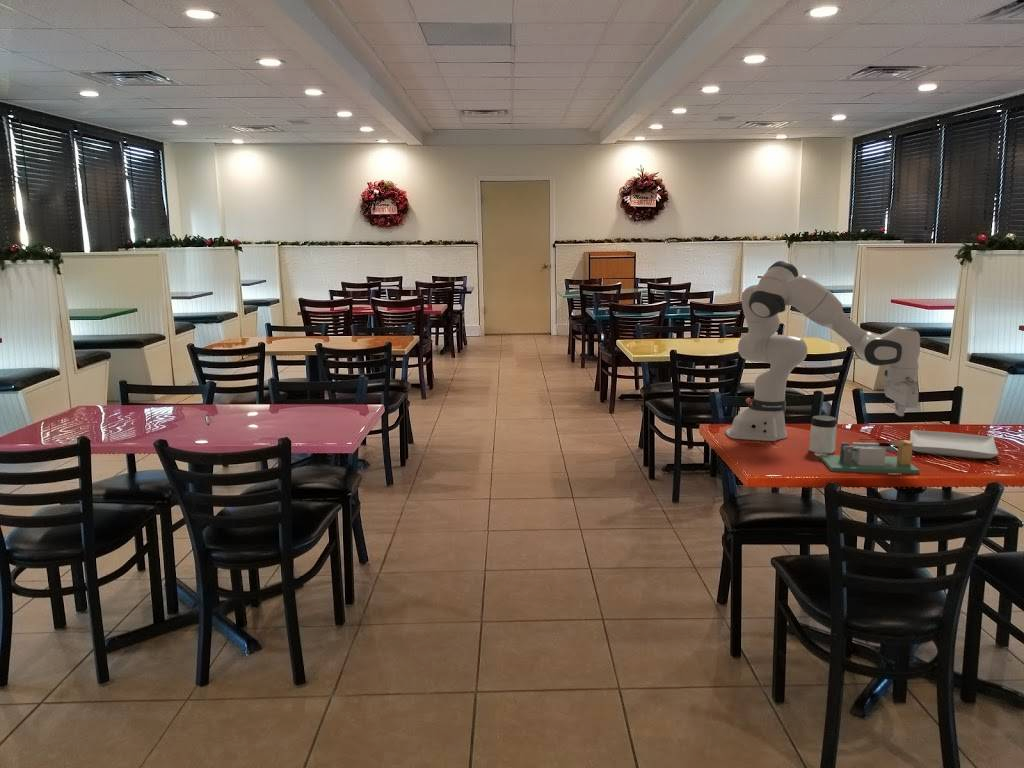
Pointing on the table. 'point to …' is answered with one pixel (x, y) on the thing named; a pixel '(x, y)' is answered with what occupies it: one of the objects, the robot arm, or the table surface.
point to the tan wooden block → (903, 451)
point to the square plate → (953, 444)
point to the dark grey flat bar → (888, 449)
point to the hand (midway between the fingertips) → (899, 415)
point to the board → (864, 468)
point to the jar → (823, 434)
